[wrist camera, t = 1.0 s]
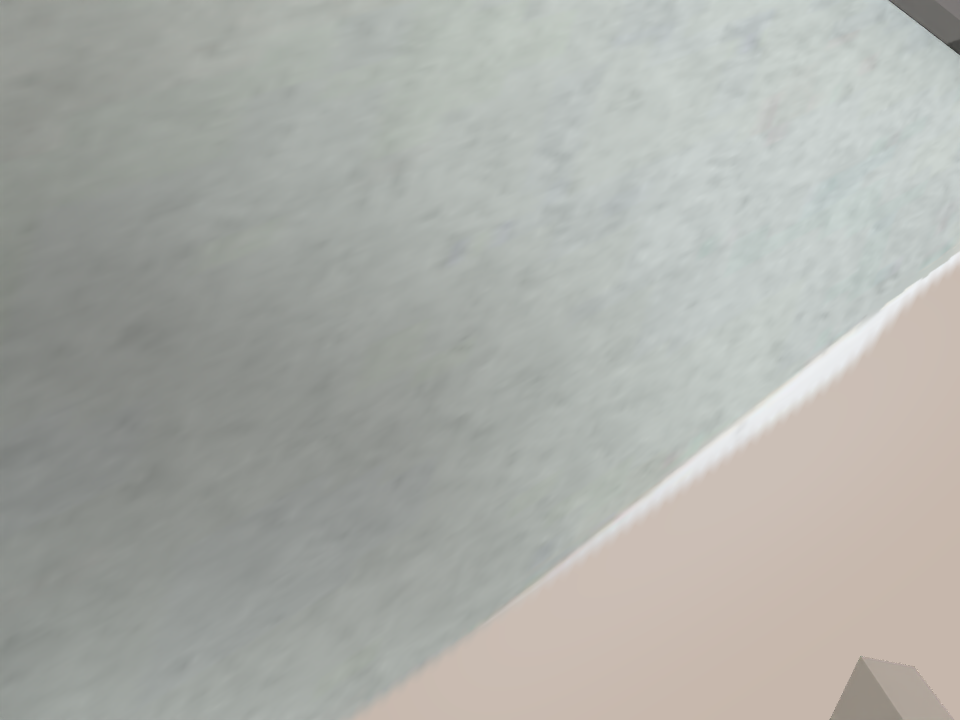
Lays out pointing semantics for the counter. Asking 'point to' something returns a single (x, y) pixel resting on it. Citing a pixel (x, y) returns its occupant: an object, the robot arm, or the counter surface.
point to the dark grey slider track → (936, 18)
